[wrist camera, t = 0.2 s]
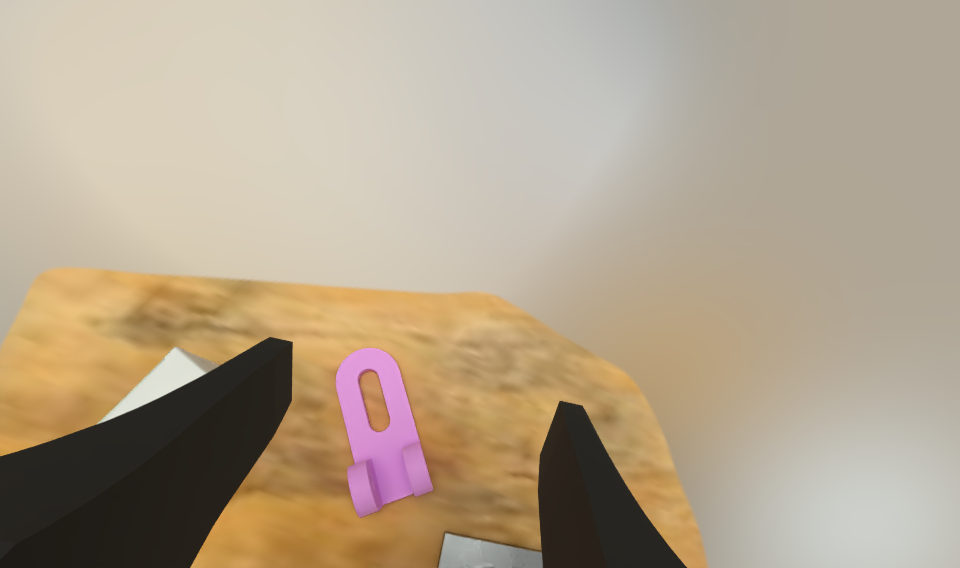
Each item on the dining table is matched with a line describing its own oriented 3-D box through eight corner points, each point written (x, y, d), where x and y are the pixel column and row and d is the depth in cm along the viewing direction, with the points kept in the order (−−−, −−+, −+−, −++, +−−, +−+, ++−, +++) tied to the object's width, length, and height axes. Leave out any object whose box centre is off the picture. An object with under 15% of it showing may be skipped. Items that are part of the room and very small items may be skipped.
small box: (209, 488, 39) (135, 501, 29) (159, 444, 40) (71, 444, 30) (280, 407, 42) (235, 395, 32) (232, 368, 42) (174, 344, 32)
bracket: (432, 485, 41) (433, 492, 35) (368, 508, 40) (357, 521, 33) (391, 343, 45) (386, 325, 38) (332, 361, 44) (315, 346, 37)
